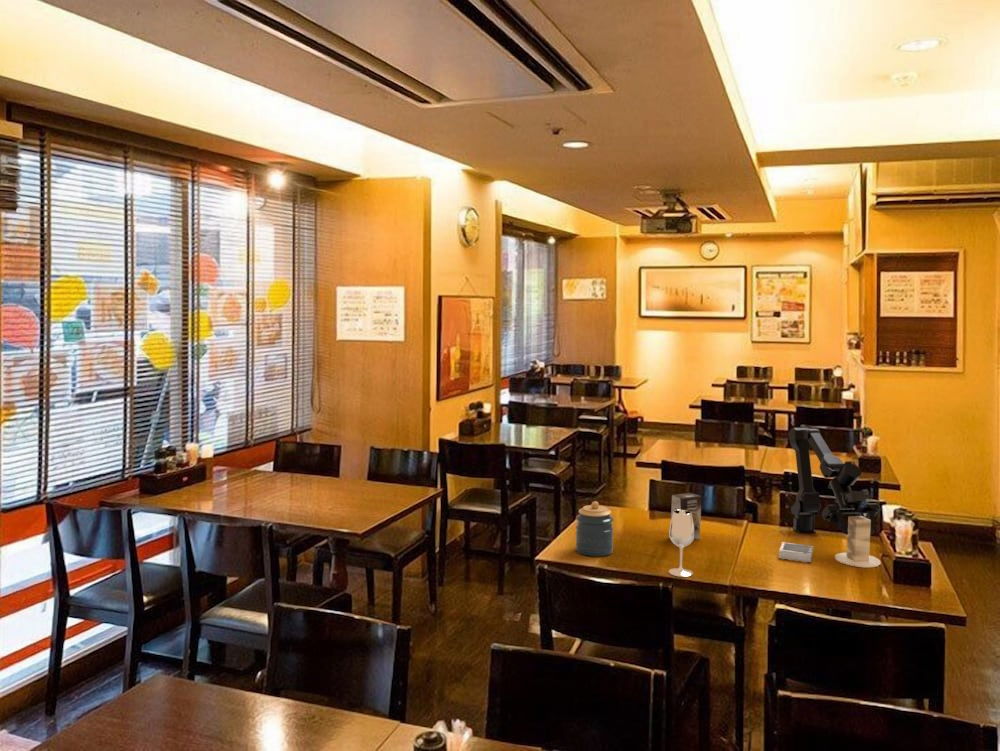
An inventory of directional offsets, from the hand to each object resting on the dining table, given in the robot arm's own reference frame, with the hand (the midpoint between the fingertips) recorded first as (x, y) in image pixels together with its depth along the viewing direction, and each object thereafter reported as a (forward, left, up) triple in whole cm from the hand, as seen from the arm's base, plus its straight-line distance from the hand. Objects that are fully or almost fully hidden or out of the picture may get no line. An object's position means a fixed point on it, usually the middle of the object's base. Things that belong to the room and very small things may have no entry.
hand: (860, 533), depth 266 cm
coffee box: (+51, -28, -10) cm, 59 cm away
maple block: (0, -1, -9) cm, 9 cm away
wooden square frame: (+19, -6, -10) cm, 22 cm away
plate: (0, -1, -10) cm, 10 cm away
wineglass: (+63, +9, -10) cm, 64 cm away
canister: (+87, -14, -10) cm, 89 cm away
